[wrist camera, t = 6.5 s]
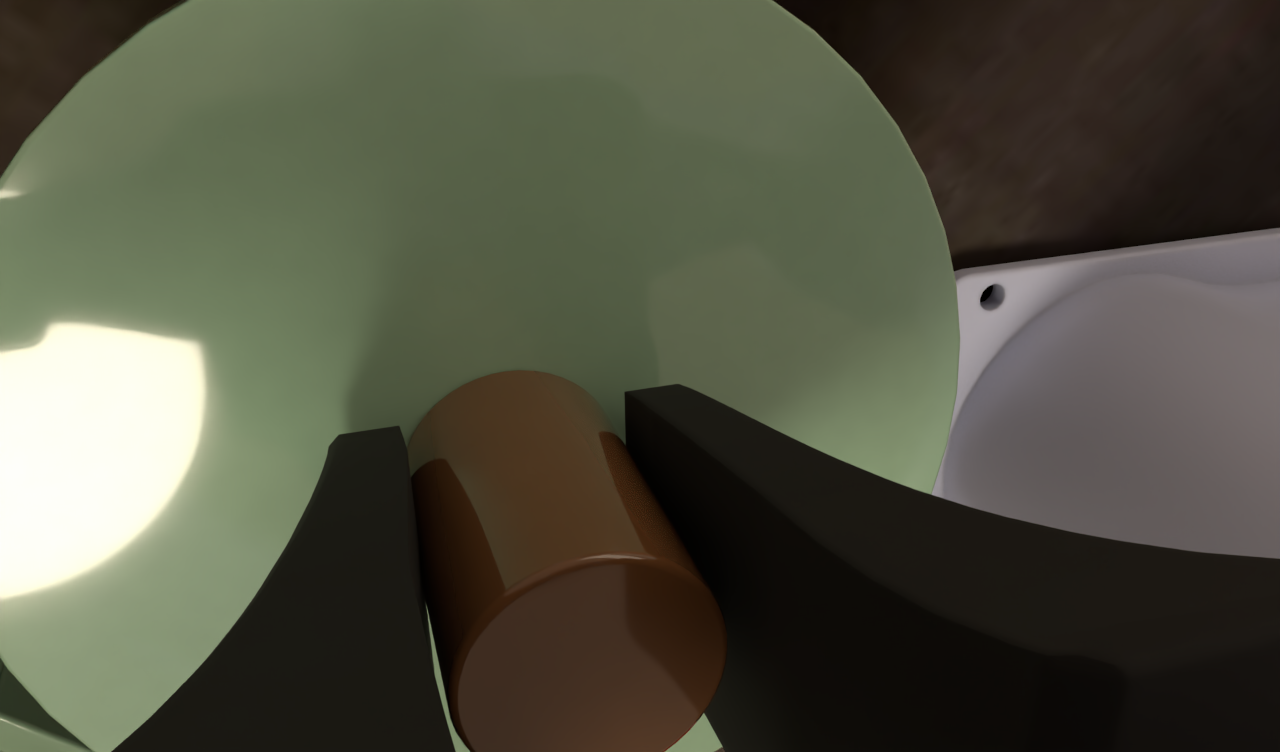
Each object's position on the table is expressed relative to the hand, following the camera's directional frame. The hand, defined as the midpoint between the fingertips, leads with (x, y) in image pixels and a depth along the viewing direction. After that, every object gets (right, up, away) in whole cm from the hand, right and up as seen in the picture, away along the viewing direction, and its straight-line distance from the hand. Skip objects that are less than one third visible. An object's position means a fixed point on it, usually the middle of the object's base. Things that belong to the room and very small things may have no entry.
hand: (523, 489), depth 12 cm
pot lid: (0, 0, +1) cm, 1 cm away
